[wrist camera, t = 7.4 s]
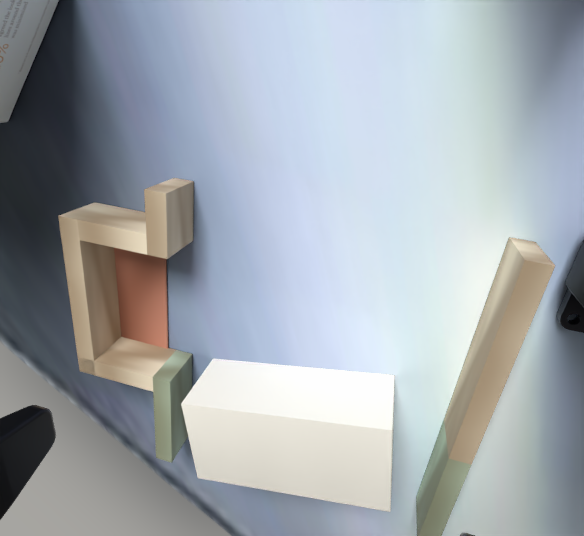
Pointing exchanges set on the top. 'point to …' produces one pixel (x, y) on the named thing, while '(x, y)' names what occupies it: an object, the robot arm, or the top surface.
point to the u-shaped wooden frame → (178, 365)
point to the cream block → (294, 430)
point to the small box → (20, 45)
